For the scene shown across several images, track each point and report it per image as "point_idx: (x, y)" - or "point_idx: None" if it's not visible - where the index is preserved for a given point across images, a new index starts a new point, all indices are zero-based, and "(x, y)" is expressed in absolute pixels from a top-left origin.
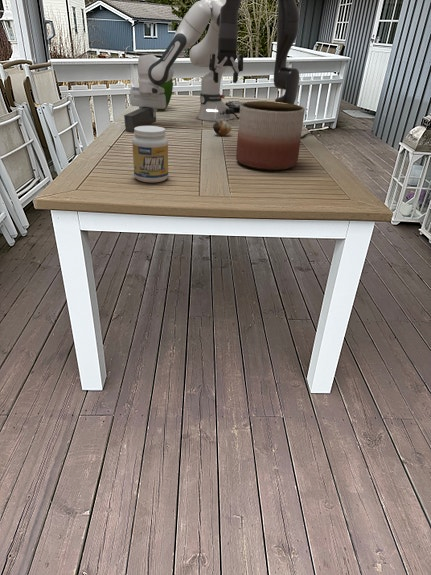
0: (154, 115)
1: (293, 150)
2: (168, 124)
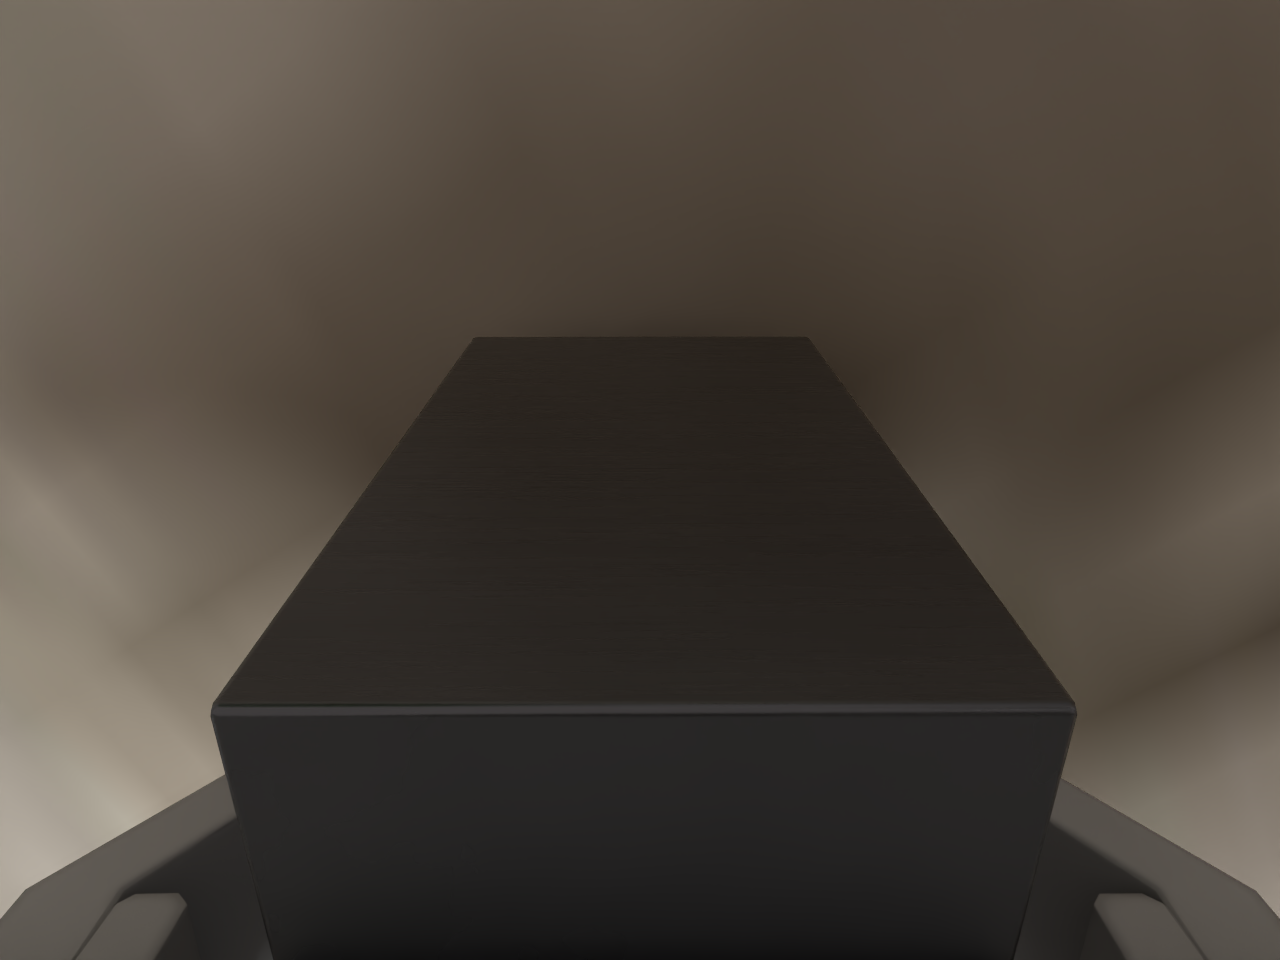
0: None
1: None
2: (1227, 97)
